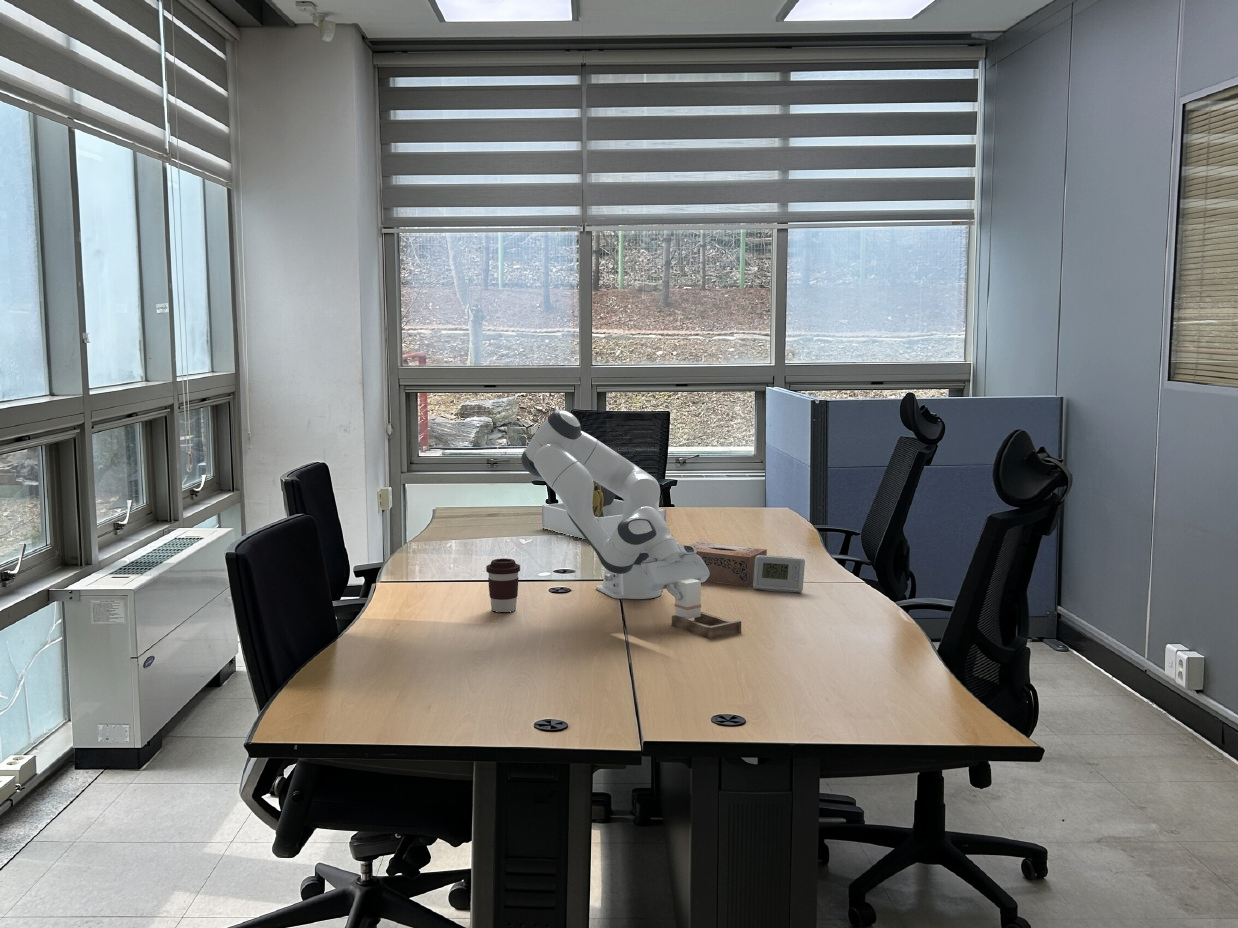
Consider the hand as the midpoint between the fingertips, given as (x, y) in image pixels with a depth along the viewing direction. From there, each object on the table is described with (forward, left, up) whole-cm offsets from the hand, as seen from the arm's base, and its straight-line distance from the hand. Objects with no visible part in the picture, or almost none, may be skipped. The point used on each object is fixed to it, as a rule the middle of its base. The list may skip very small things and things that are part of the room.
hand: (689, 597), depth 299 cm
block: (-1, 0, -5) cm, 5 cm away
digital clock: (-18, +52, -9) cm, 56 cm away
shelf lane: (+7, 0, -9) cm, 11 cm away
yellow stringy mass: (-131, +72, -9) cm, 150 cm away
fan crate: (-135, +68, -9) cm, 151 cm away
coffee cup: (-48, -31, -9) cm, 58 cm away
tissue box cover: (-42, +50, -9) cm, 66 cm away
